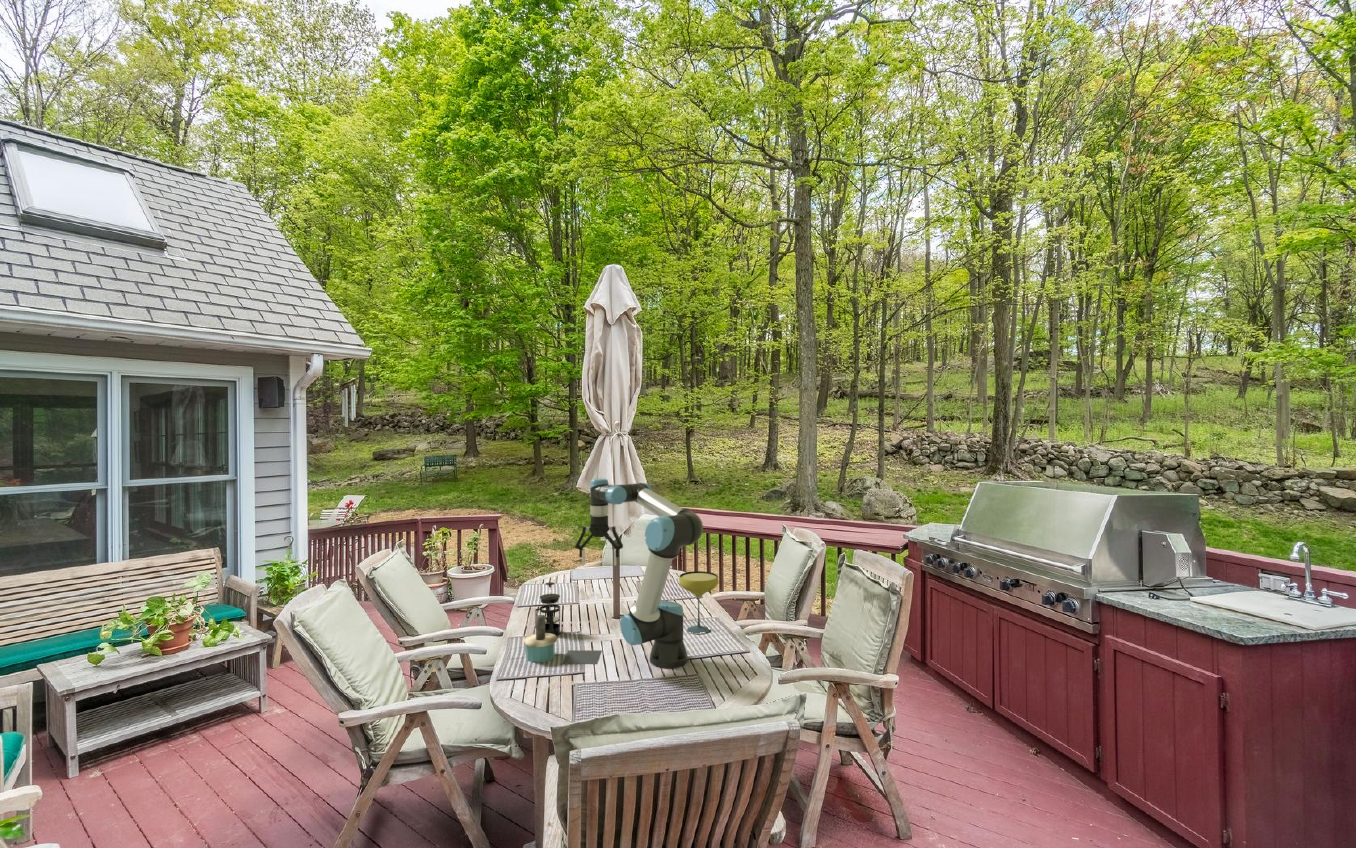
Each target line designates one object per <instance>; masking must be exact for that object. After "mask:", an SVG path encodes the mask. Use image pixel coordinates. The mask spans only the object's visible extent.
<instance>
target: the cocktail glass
mask: <svg viewBox="0 0 1356 848" xmlns="http://www.w3.org/2000/svg"><path fill="white" fill-rule="evenodd" d="M678 583H679V586H680V587H682V588H683V589H684V590H686V591H688V592H689V593H692V594H693V595H694V596H695V597H696V599H697V624H696V625H693V626H689V627H688V628H687V629H686V631H687V632H688V633H689V632H691V633H690V634H692V632H693V633H700V632H709V629H708V628H709V627H708V626H705V625H701V621H700V619H701V617H700V599H701V598H702V597H703V595H705V594H706V593H709V592H710V591H713V590H714V589H715V588H716V587H718V585H719V576H718V574H716V573H713V572H709V571H704V570H703V571H700V570H697V571H695V570H694V571H686V572H682V573H681V574H680V575H679V578H678ZM709 633H710V632H709Z"/></svg>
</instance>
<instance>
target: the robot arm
mask: <svg viewBox="0 0 1356 848" xmlns="http://www.w3.org/2000/svg"><path fill="white" fill-rule="evenodd" d="M589 495H590V496H589V497H590V508H589V509H590V511H589V513H590V516H589V517H590V518H589V519H590V525H589V526H586V525H584V526H583V527H582V532H581V534H580V536H579V538H578V540H577V542H576V544H575V546H574V548H575V549H577V550H578V551H579V558H581V566H584V565H586V563H585V561H586V549H585V548H584V547H585V546H586V545H587V544H588V543H589V542H590V540H591V539H592V538H593V537H594V538H605V539H606V540H607V541H608V542H609V543H610V544H611V545H612V547H613V548H614V549H613V566H614V567H615V566H617V558H619V556H620V550H621V549H624V544H623V543H622V540H621V538H620V536H619V534H618V532H617V527H616V526H615V525H613V526H609V515H608V514H609V504H611V505H622V504H624V503H633V502H634V503H636V504H638V505H640V506H642V507H643V508H644V509H646V510H648V511H649V512H650V513H652V514H654V515H656V516H657V517H655V518H653V519H651V520H650V521H649V522H648V523H647V525H646V528H645V531H644V538H645V539H644V541H645V544H646V546H647V549H648V551H649V556H648V561H647V563H646V567H645V570H644V573H643V579H642V581H641V584H640V589H639V591H638V595H637V599H636V601H635V602H634V603H632V604H631V605H630V609H629V612H628V613H625V614H624V615H622V617H621V618H620V622H619V624H620V627H619V628H620V631H621V635H622V637H623V638H624V640H625V642H626V643H627V644H629V645H630V646H638V645H643V644H645V643H649V642H652V641H653V643H652V647H651V650H650V653H649V654H650V655H649V662H650V664H651V665H652V666H654V667H657V666H658V667H657V668H663V669H674V668H679V667H682V666H685V665H686V664H687V663H688V661H689V660H688V659H689V658H688V656H689V655H688V651H687V650H686V646H685V643H684V608H683V605H682V604H680V603H679V602H676V601H670V600H661V599H662V596H663V593H664V591H665V587H666V582H667V579H668V576H669V573H670V569H671V567H672V563H673V562H672V561H673V560H674V559H676V558H678V556H679V553H680V549H681V547H687V546H691V545H694V544H696V543H697V542H698V541H699V540H700V538H701V537H702V534H703V531H704V525H703V521H702V519H701V517H700V516H699V515H698V514H697V513H695V512H693V511H692V510H690V509H689V508H682V507H680V506H678V505H677V504H675V503H673V502H672V501H670V500H668V499H667V498H666V497H665V498H664V497H663V496H661V495H660V494H658V493H656V492H654V491H653V489H652V486H651V485H650V484H649V483H646V482H645V483H644V482H636V483H625V484H609V480H608V479H607V478H593V479H591V480H590V488H589ZM588 531H589V532H590V533H591V534H590V535H589V536H588V537H587V538H586V539H585V541H584V542H583V543H582V541H583V539H584V537H585V534H586V533H588ZM609 531H610V532H612V534H613V535H612V536H613V537H614V539H615V540H616V541H615V540H614V539H613V538H612V537H611V535H610V534H609V533H608V532H609ZM581 543H582V544H581Z"/></svg>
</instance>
